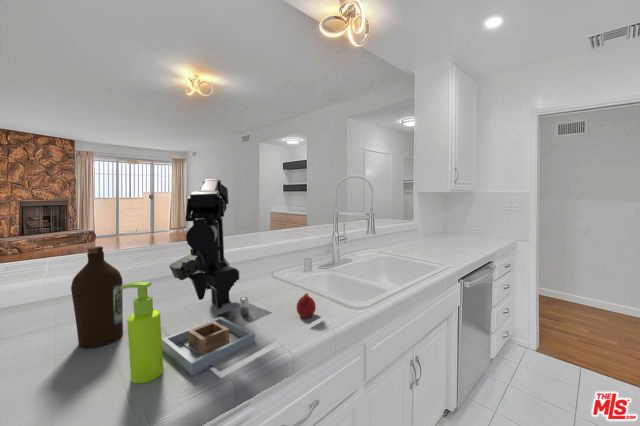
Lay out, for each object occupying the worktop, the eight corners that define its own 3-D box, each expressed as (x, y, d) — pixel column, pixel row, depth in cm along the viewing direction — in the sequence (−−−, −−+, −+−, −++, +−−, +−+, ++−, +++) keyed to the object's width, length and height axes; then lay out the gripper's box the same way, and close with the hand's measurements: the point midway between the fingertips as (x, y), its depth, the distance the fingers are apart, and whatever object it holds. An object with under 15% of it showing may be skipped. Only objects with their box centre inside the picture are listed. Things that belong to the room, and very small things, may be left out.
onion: (313, 323, 82) (312, 297, 81) (294, 322, 83) (293, 296, 82) (317, 315, 87) (317, 290, 87) (299, 314, 89) (299, 289, 88)
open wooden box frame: (188, 346, 69) (188, 331, 69) (214, 335, 75) (214, 320, 74) (202, 356, 65) (202, 340, 65) (229, 344, 70) (228, 328, 70)
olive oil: (69, 354, 68) (61, 253, 66) (83, 335, 77) (76, 246, 76) (121, 343, 73) (115, 248, 71) (128, 326, 82) (123, 242, 80)
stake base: (216, 318, 86) (216, 299, 86) (249, 306, 96) (248, 289, 95) (239, 330, 79) (238, 309, 78) (272, 315, 88) (271, 297, 87)
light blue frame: (162, 350, 69) (161, 339, 69) (221, 326, 81) (221, 316, 81) (192, 377, 58) (191, 363, 58) (255, 345, 71) (254, 333, 70)
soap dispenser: (135, 367, 62) (130, 279, 61) (168, 365, 63) (163, 278, 62) (119, 384, 57) (112, 288, 55) (155, 382, 57) (149, 286, 56)
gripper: (157, 243, 69) (160, 304, 70) (192, 253, 57) (196, 326, 58) (201, 237, 78) (203, 292, 79) (239, 244, 65) (241, 309, 67)
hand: (210, 303), depth 70 cm, fingers open, 9 cm apart
